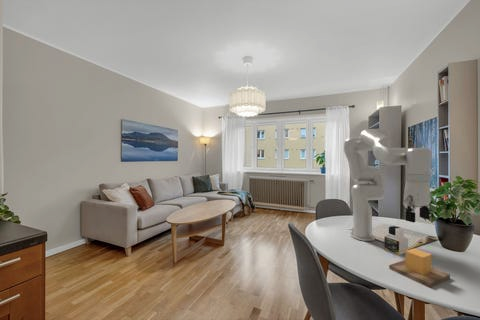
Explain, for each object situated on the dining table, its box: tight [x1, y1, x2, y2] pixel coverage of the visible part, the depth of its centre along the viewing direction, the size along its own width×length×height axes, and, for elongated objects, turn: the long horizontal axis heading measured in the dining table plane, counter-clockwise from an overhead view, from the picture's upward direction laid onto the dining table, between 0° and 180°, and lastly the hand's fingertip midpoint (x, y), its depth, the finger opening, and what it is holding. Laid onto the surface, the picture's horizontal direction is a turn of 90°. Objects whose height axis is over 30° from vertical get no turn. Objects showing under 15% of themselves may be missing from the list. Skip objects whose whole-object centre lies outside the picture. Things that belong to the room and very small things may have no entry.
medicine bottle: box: [383, 225, 409, 256], centre depth 104 cm, size 7×7×12 cm
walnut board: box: [388, 259, 451, 288], centre depth 84 cm, size 14×14×6 cm
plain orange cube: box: [405, 247, 433, 275], centre depth 84 cm, size 6×6×7 cm
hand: (417, 219), depth 84 cm, fingers open, 9 cm apart
